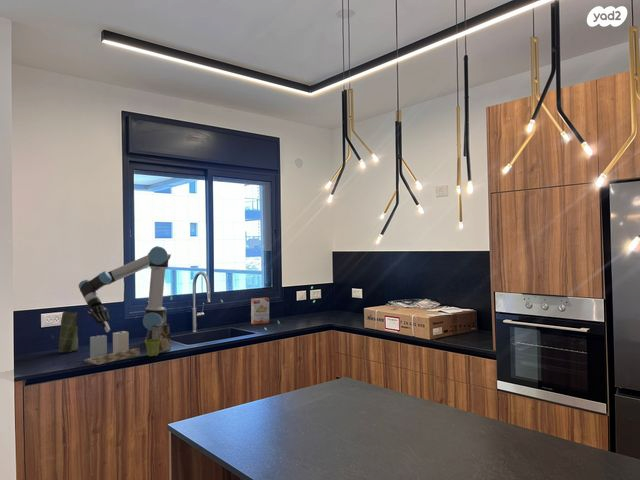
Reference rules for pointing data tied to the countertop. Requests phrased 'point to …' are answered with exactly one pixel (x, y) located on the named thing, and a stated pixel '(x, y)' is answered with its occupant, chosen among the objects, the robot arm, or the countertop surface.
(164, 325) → the coffee box
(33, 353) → the countertop surface
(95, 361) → the console
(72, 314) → the pouch
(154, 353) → the plant pot
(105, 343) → the grey upright block
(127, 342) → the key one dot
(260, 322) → the cracker box
